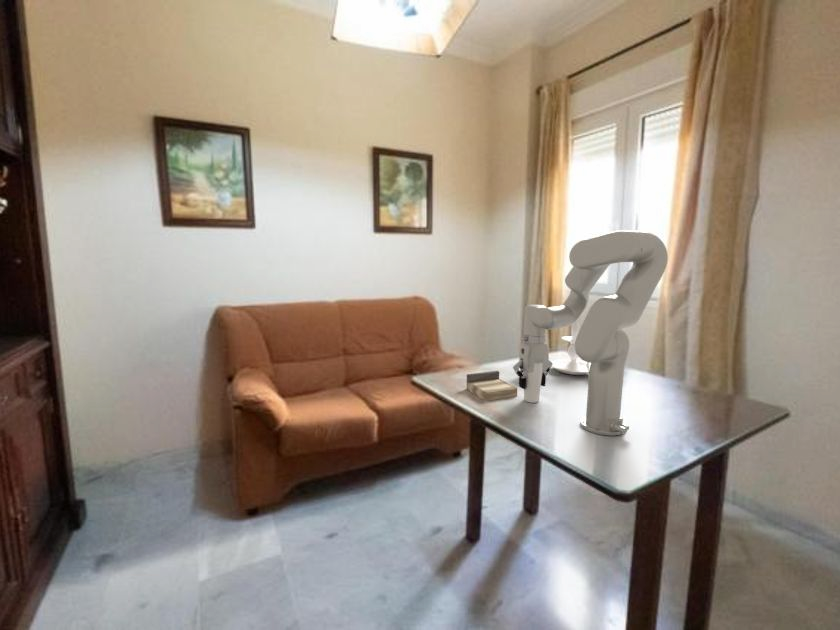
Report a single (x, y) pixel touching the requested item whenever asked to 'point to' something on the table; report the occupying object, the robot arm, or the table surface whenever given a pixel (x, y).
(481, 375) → the dock
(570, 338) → the candlestick
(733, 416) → the table surface
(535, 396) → the white tapered cup
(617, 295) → the robot arm
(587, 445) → the table surface
